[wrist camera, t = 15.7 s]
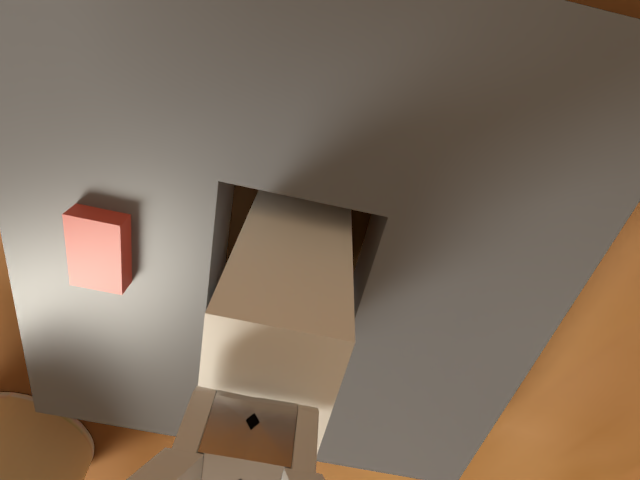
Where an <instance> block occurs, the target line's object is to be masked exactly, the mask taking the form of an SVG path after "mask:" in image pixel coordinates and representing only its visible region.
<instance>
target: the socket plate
mask: <svg viewBox="0 0 640 480" xmlns="http://www.w3.org/2000/svg"><path fill="white" fill-rule="evenodd" d="M235 185H239V186H243V187H248V188H253V189H258V190H262V191H267V192H272V193H276V194H281V195H286V196H290V197H295V198H300V199H305V200H309V201H314V202H319V203H323V204H328V205H333V206H337V207H342V208H347V209H352V210H356V211H361V212H366V213H370V214H371V217H370V220H369V224H368V227H367V230H366V234H365V237H364V240H363V243H362V247H361V250H360V253H359V257H358V260H357V263H356V266H355V270H354V273H353V284H354V316H355V345H354V348H353V351H352V354H351V357H350V359H349V362H348V365H347V368H346V371H345V374H344V377H343V380H342V383H341V386H340V389H339V392H338V395H337V398H336V400H335V403H334V406H333V409H332V412H331V415H330V418H329V421H328V424H327V427H326V430H325V433H324V436H323V439H322V442H321V444H320V447H319V450H318V453H317V460H316V461H319V462H324V463H330V464H336V465H342V466H347V467H353V468H359V469H364V470H370V471H376V472H382V473H387V474H393V475H399V476H405V477H410V478H416V479H422V480H459V478H460V477H461V475H462V474H463V472H464V471H465V469H466V468H467V466H468V465H469V463H470V461H471V460H472V458H473V457H474V455H475V454H476V452H477V451H478V449H479V448H480V446H481V445H482V443H483V441H484V440H485V438H486V437H487V435H488V434H489V432H490V431H491V429H492V428H493V426H494V425H495V423H496V421H497V420H498V418H499V417H500V415H501V414H502V412H503V411H504V409H505V408H506V406H507V405H508V403H509V401H510V400H511V398H512V397H513V395H514V394H515V392H516V391H517V389H518V388H519V386H520V385H521V383H522V381H523V380H524V378H525V377H526V375H527V374H528V372H529V371H530V369H531V368H532V366H533V364H534V363H535V361H536V360H537V358H538V357H539V355H540V354H541V352H542V351H543V349H544V348H545V346H546V344H547V343H548V341H549V340H550V338H551V337H552V335H553V334H554V332H555V331H556V329H557V328H558V326H559V324H560V323H561V321H562V320H563V318H564V317H565V315H566V314H567V312H568V311H569V309H570V308H571V306H572V304H573V303H574V301H575V300H576V298H577V297H578V295H579V294H580V292H581V291H582V289H583V288H584V286H585V284H586V283H587V281H588V280H589V278H590V277H591V275H592V274H593V272H594V271H595V269H596V267H597V266H598V264H599V263H600V261H601V260H602V258H603V257H604V255H605V254H606V252H607V251H608V249H609V247H610V246H611V244H612V243H613V241H614V240H615V238H616V237H617V235H618V234H619V232H620V231H621V229H622V227H623V226H624V224H625V223H626V221H627V220H628V218H629V217H630V215H631V214H632V212H633V211H634V209H635V207H636V206H637V204H638V203H639V201H640V19H637V18H633V17H629V16H625V15H621V14H617V13H613V12H609V11H605V10H601V9H598V8H594V7H590V6H586V5H582V4H578V3H574V2H570V1H566V0H0V232H1V237H2V242H3V247H4V252H5V257H6V263H7V268H8V273H9V278H10V283H11V288H12V294H13V299H14V304H15V309H16V314H17V320H18V325H19V330H20V335H21V340H22V345H23V351H24V356H25V361H26V366H27V371H28V376H29V382H30V387H31V392H32V397H33V402H34V407H35V412H39V413H44V414H50V415H56V416H61V417H67V418H73V419H79V420H84V421H90V422H96V423H101V424H107V425H113V426H119V427H124V428H130V429H136V430H141V431H147V432H153V433H159V434H164V435H170V436H176V435H177V433H178V430H179V427H180V425H181V422H182V420H183V417H184V414H185V412H186V409H187V406H188V404H189V401H190V398H191V396H192V393H193V391H194V389H195V388H196V386H198V379H199V369H200V358H201V348H202V337H203V327H204V317H205V312H206V309H207V307H208V305H209V303H210V300H211V298H212V296H213V293H214V291H215V289H216V286H217V284H218V282H219V280H220V277H221V275H222V273H223V270H224V268H225V263H226V255H227V246H228V238H229V229H230V221H231V212H232V204H233V195H234V187H235Z"/></svg>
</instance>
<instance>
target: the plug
mask: <svg viewBox="0 0 640 480" xmlns="http://www.w3.org/2000/svg"><path fill="white" fill-rule="evenodd" d="M354 345H355V316H354V284H353V251H352V218H351V209H347V208H342V207H337V206H333V205H328V204H323V203H319V202H314V201H309V200H305V199H300V198H295V197H290V196H286V195H281V194H276V193H272V192H267V191H262V190H258V192H257V195H256V197H255V199H254V201H253V204H252V206H251V208H250V211H249V213H248V215H247V218H246V220H245V222H244V224H243V227H242V229H241V231H240V234H239V236H238V238H237V241H236V243H235V245H234V247H233V250H232V252H231V254H230V257H229V259H228V261H227V263H226V266H225V268H224V270H223V273H222V275H221V277H220V280H219V282H218V284H217V286H216V289H215V291H214V293H213V296H212V298H211V300H210V303H209V305H208V307H207V309H206V312H205V317H204V327H203V337H202V348H201V358H200V369H199V379H198V386H200V387H206V388H211V389H216V390H221V391H226V392H231V393H236V394H241V395H245V396H250V397H255V398H258V397H260V398H266V399H272V400H278V401H285V402H291V403H297V405H298V404H299V405H305V406H311V407H317V408H318V410H319V423H318V442H317V453H318V450H319V447H320V444H321V442H322V439H323V436H324V433H325V430H326V427H327V424H328V421H329V418H330V415H331V412H332V409H333V406H334V403H335V400H336V398H337V395H338V392H339V389H340V386H341V383H342V380H343V377H344V374H345V371H346V368H347V365H348V362H349V359H350V357H351V354H352V351H353V348H354Z"/></svg>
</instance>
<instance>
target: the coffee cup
mask: <svg viewBox="0 0 640 480" xmlns="http://www.w3.org/2000/svg"><path fill="white" fill-rule="evenodd" d="M93 456H94V442H93V440H92V437H91V435H90V433H89V432H88V430H87V429H86V428H85V426H84V425H83V424H82V423H81V422H80V421H79V420H77V419H73V418H67V417H61V416H56V415H50V414H44V413H39V412H35V407H34V402H33V397H32V396H30V395H26V394H21V393H15V392H0V480H84V478H85V476H86V473H87V471H88V469H89V466H90V464H91V461H92V459H93Z"/></svg>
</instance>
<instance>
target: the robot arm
mask: <svg viewBox="0 0 640 480" xmlns="http://www.w3.org/2000/svg"><path fill="white" fill-rule="evenodd" d="M318 423H319V410H318V408H317V407H311V406H305V405H299V404H298V405H297V403H291V402H285V401H278V400H272V399H266V398H260V397H258V398H255V397H250V396H245V395H241V394H236V393H231V392H226V391H221V390H216V389H211V388H206V387H200V386H196V388H195V389H194V391H193V393H192V396H191V398H190V401H189V404H188V406H187V409H186V412H185V414H184V417H183V420H182V422H181V425H180V427H179V430H178V433H177V435H176V438H175V441H174V443H173V446H172V449H171V448H164V449H163V450H162V451H160V452H159V453H158V454H157V455H156V456H154V457H153V458H152V459H151V460H150V461H148V462H147V463H146V464H145V465H143V466H142V467H141V468H140V469H139V470H137V471H136V472H135V473H134V474H133V475H131V476H130V477H129V478H128V479H126V480H325V479H324V477H323V475H322V474H319V473H316V460H317V442H318Z"/></svg>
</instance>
